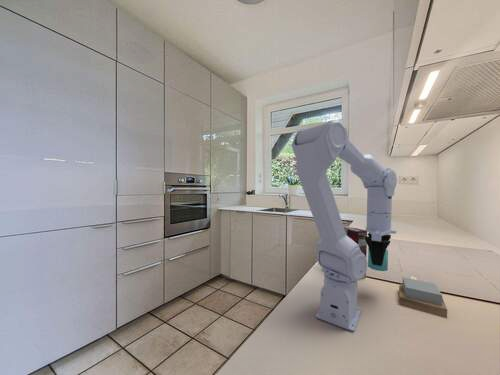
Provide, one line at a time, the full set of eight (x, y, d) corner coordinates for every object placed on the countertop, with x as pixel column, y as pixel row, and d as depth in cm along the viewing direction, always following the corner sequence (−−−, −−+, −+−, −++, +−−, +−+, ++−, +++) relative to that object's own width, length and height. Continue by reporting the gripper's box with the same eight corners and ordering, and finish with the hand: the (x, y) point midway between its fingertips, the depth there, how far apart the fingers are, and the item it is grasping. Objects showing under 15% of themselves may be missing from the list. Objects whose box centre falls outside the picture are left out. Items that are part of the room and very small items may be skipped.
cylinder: (387, 272, 54) (387, 253, 54) (367, 268, 57) (367, 249, 57) (387, 267, 58) (388, 249, 58) (368, 263, 61) (369, 246, 61)
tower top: (441, 305, 50) (442, 295, 50) (405, 297, 54) (406, 287, 54) (434, 292, 56) (434, 283, 56) (402, 285, 60) (402, 277, 60)
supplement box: (335, 270, 75) (336, 226, 75) (345, 268, 77) (346, 225, 77) (356, 280, 67) (357, 231, 67) (366, 278, 69) (368, 230, 69)
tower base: (446, 320, 49) (447, 309, 49) (399, 306, 54) (399, 296, 54) (440, 303, 56) (440, 293, 56) (399, 292, 61) (399, 283, 61)
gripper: (396, 216, 49) (395, 274, 49) (396, 211, 61) (395, 258, 61) (362, 214, 53) (361, 267, 53) (368, 209, 65) (367, 253, 65)
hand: (377, 262), depth 57 cm, fingers closed on cylinder, 5 cm apart
